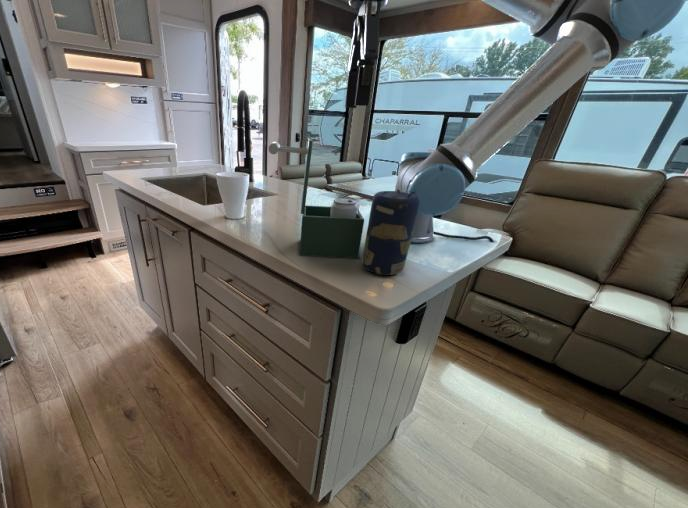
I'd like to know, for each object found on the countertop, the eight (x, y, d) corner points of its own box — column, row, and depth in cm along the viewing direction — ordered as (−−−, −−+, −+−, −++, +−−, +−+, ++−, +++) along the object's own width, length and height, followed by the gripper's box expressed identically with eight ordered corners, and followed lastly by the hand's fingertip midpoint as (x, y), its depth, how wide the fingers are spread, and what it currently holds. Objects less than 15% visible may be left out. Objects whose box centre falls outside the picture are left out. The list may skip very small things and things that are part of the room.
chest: (352, 243, 88) (357, 208, 84) (358, 258, 79) (364, 219, 74) (300, 240, 89) (302, 205, 84) (299, 255, 79) (302, 216, 74)
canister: (409, 269, 74) (430, 190, 65) (391, 282, 68) (411, 196, 59) (373, 258, 79) (387, 183, 70) (353, 268, 73) (365, 188, 64)
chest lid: (312, 138, 76) (272, 134, 76) (312, 141, 66) (268, 136, 66) (304, 203, 84) (268, 199, 84) (304, 214, 74) (264, 210, 74)
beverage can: (351, 252, 80) (358, 204, 74) (325, 249, 81) (331, 201, 75) (351, 244, 86) (358, 198, 80) (328, 241, 87) (333, 196, 81)
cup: (222, 211, 112) (220, 171, 105) (252, 213, 111) (251, 172, 105) (215, 220, 102) (212, 176, 96) (247, 221, 102) (246, 177, 96)
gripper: (342, -1, 72) (332, 107, 82) (364, -54, 50) (348, 103, 61) (374, 0, 72) (361, 108, 82) (411, -51, 50) (386, 105, 61)
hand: (355, 106), depth 72 cm, fingers open, 13 cm apart
